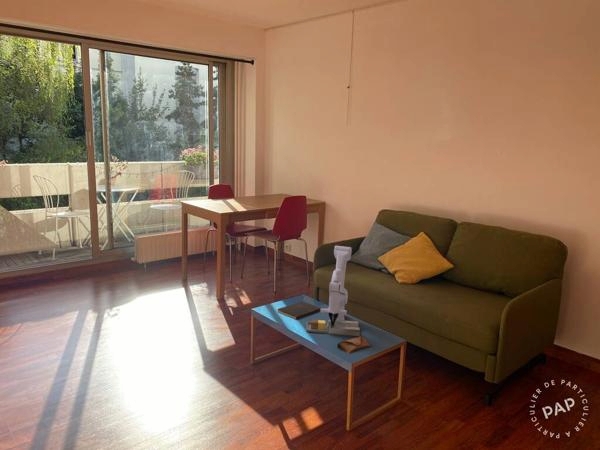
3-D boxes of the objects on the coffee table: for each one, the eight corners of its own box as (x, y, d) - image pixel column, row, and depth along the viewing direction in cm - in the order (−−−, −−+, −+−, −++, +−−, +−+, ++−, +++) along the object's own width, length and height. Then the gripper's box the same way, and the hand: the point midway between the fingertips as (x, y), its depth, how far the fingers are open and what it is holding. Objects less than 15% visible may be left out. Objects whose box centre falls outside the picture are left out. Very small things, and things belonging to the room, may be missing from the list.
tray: (306, 324, 271) (306, 321, 271) (327, 325, 271) (327, 323, 270) (306, 331, 260) (306, 329, 260) (327, 333, 260) (328, 331, 260)
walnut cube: (310, 326, 268) (311, 319, 267) (317, 326, 267) (318, 319, 267) (310, 328, 264) (311, 322, 263) (317, 329, 264) (318, 322, 263)
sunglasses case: (348, 354, 236) (344, 341, 238) (339, 356, 242) (335, 343, 243) (372, 345, 248) (368, 333, 249) (363, 347, 253) (360, 335, 254)
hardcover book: (276, 312, 287) (277, 309, 287) (302, 304, 304) (302, 300, 304) (296, 320, 277) (296, 316, 276) (321, 311, 294) (321, 308, 293)
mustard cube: (317, 326, 267) (318, 320, 267) (324, 327, 267) (325, 320, 266) (317, 329, 263) (318, 322, 263) (324, 330, 263) (325, 323, 263)
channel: (328, 325, 271) (328, 319, 270) (357, 327, 271) (358, 321, 270) (328, 333, 259) (329, 327, 259) (359, 336, 259) (359, 329, 258)
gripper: (321, 304, 258) (319, 327, 261) (347, 305, 258) (345, 329, 261) (321, 299, 265) (319, 322, 268) (346, 301, 265) (345, 324, 268)
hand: (332, 325), depth 265 cm, fingers closed
